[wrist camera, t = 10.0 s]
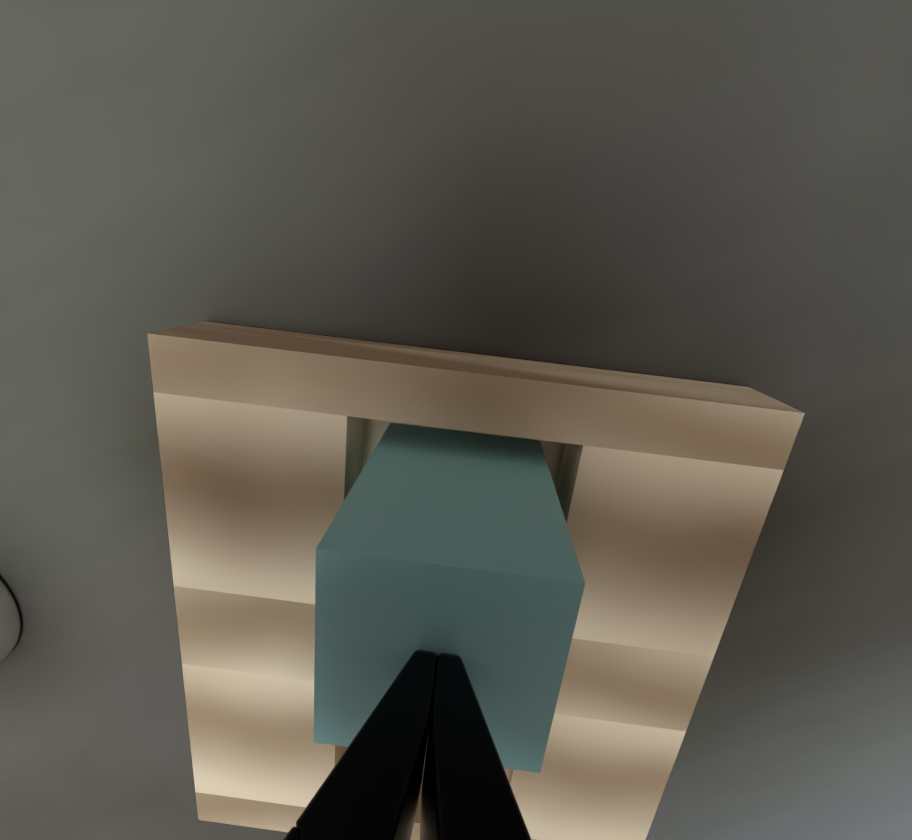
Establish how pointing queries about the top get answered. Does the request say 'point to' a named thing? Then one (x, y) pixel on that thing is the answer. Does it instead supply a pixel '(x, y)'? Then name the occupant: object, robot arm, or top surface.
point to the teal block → (448, 583)
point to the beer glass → (8, 621)
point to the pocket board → (330, 480)
